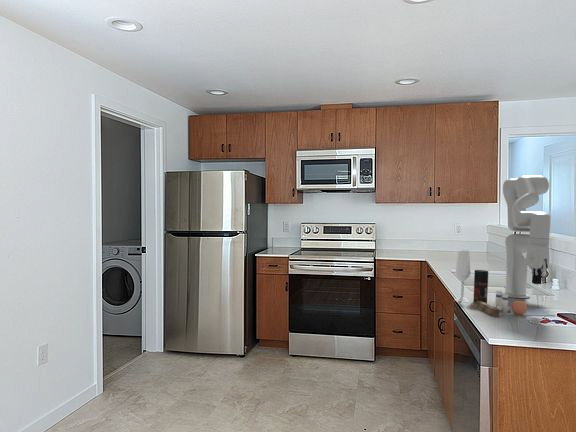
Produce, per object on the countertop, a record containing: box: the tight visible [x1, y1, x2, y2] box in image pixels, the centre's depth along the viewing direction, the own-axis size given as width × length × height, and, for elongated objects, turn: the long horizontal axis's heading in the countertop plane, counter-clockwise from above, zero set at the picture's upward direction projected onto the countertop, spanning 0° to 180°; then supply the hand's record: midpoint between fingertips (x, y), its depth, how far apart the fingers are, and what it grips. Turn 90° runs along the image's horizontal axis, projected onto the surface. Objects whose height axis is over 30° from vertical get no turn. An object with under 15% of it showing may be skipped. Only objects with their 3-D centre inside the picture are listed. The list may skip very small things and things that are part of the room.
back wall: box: [475, 301, 500, 318], centre depth 194 cm, size 16×2×3 cm, turn 3°
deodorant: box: [472, 269, 489, 304], centre depth 212 cm, size 6×6×15 cm
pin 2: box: [501, 293, 509, 314], centre depth 192 cm, size 2×2×8 cm
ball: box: [510, 300, 528, 316], centre depth 190 cm, size 6×6×6 cm
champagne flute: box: [454, 249, 471, 303], centre depth 216 cm, size 7×7×24 cm
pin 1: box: [495, 290, 503, 306], centre depth 197 cm, size 2×2×8 cm
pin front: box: [492, 305, 511, 312], centre depth 194 cm, size 2×2×8 cm
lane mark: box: [499, 308, 556, 317], centre depth 195 cm, size 11×25×1 cm, turn 92°
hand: (536, 283), depth 196 cm, fingers closed
